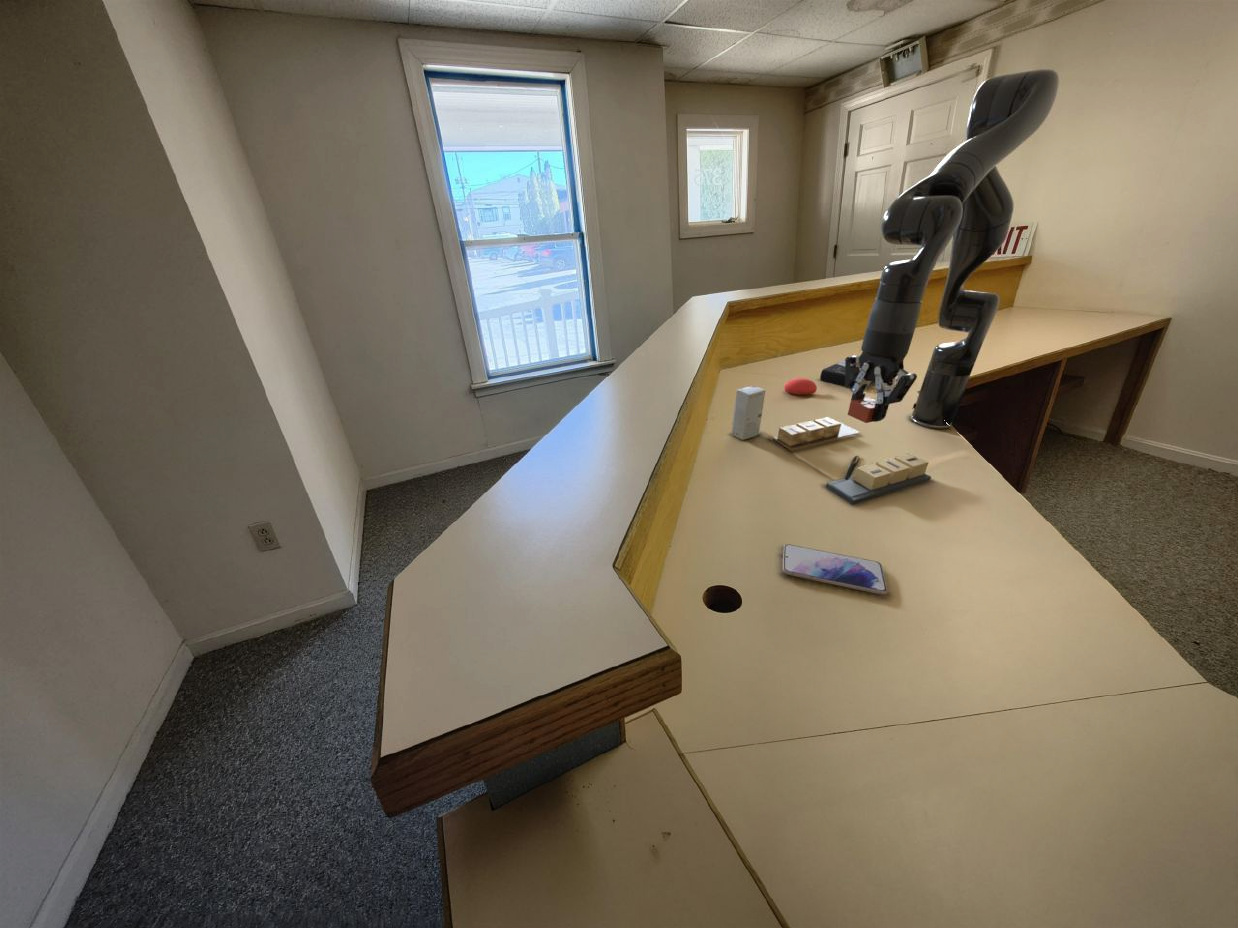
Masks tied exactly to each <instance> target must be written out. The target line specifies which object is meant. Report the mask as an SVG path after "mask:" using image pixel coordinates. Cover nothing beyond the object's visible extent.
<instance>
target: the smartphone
mask: <svg viewBox="0 0 1238 928" xmlns="http://www.w3.org/2000/svg"><path fill="white" fill-rule="evenodd" d="M782 549H783V550H782V573H783V574H784V575H788V576H792V577H797V578H801V579H806V580H811V581H816V582H819V583H820V582H821V583H825V584H829V585H834V586H840V587H843V588H848V589H854V590H858V591H862V592H867V593H872V594H876V595H881V596H882V595H887V593H888V588H887V583H886V578H885V573H884V569H883V565H882V564H881V563H880V561H877V560H872V559H867V558H862V557H857V556H851V555H846V554H842V553H841V554H840V553H835V552H830V551H825V550H820V549H815V548H810V547H809V548H808V547H804V546H800V545H796V544H795V545H794V544H789V543H788V544H784V545H783V548H782Z"/></svg>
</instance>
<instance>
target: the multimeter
mask: <svg viewBox="0 0 1238 928" xmlns="http://www.w3.org/2000/svg"><path fill="white" fill-rule="evenodd" d="M860 371H861V368H860ZM859 373H860V372H859ZM819 379H820V381H822V382H823V381H824V382H827V383H831V384H835V385H838V386H843V387H846V386H845V359H843V360H841V361H838V362H836V363H834V364H832V365H830V366H828V367H826V368H822V370H821V373H820V376H819ZM852 381H853V375H852Z"/></svg>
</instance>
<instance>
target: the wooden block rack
mask: <svg viewBox="0 0 1238 928" xmlns="http://www.w3.org/2000/svg"><path fill="white" fill-rule="evenodd" d="M928 465H929V461H926V460H925V459H924V458H921V457H919V456H916V455H915V454H912V453H911V452H909V453H908V452H907V453H906V454H901V455H898V456H897V455H896V456H895V457H894V458H892V457H889V458H885V459H883V460H879V461H876V462H875V463H873V462H872V463H868V464H863V465H861V466H857V467H856V468H855V473H854V475H851V476H850V477H849V479H848V480H847V479H845V477H843V478H840V479H837V480H833V481H829V482H826V484H825V488H827V489H828V490H830V491H831V492H833V493H835V494H836V495H837V496H839V497H840V498H842V499H843V500H845V501H846V502H848V503H850V504H851V505H856V504H858V503H861V502H865V501H869V500H872V499H874V498H879V497H882V496H885V495H888V494H891V493H895V492H897V491H900V490H904V489H907V488H911V487H915V486H917V485H920V484H923V483H926V482H930V481H931V479H932V476H931V475H929V474H927V473H926V471H927V468H928Z"/></svg>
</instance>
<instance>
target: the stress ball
mask: <svg viewBox="0 0 1238 928" xmlns="http://www.w3.org/2000/svg"><path fill="white" fill-rule="evenodd" d="M817 388H818V387H817V384H816V382H814V381H813V380H811V379H808V378H799V377H798V378H793V379H791V380H788V381H787V382H785V384H784V386H783V390H784V392H786V393H788V394H790V395H791V394H792V395H803V396H809V395H813V394H815V393H816V392H817V390H818V389H817Z"/></svg>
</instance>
